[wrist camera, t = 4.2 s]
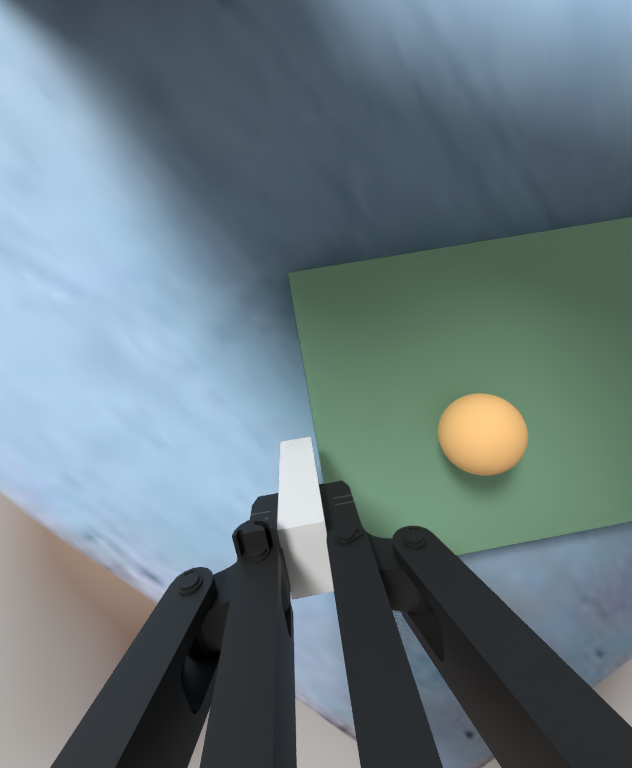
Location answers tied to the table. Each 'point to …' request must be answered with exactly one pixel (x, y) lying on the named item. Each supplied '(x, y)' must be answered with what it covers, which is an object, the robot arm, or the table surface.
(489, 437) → the ball
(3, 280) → the table surface
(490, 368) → the putting board
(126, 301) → the table surface
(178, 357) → the table surface
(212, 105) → the table surface
